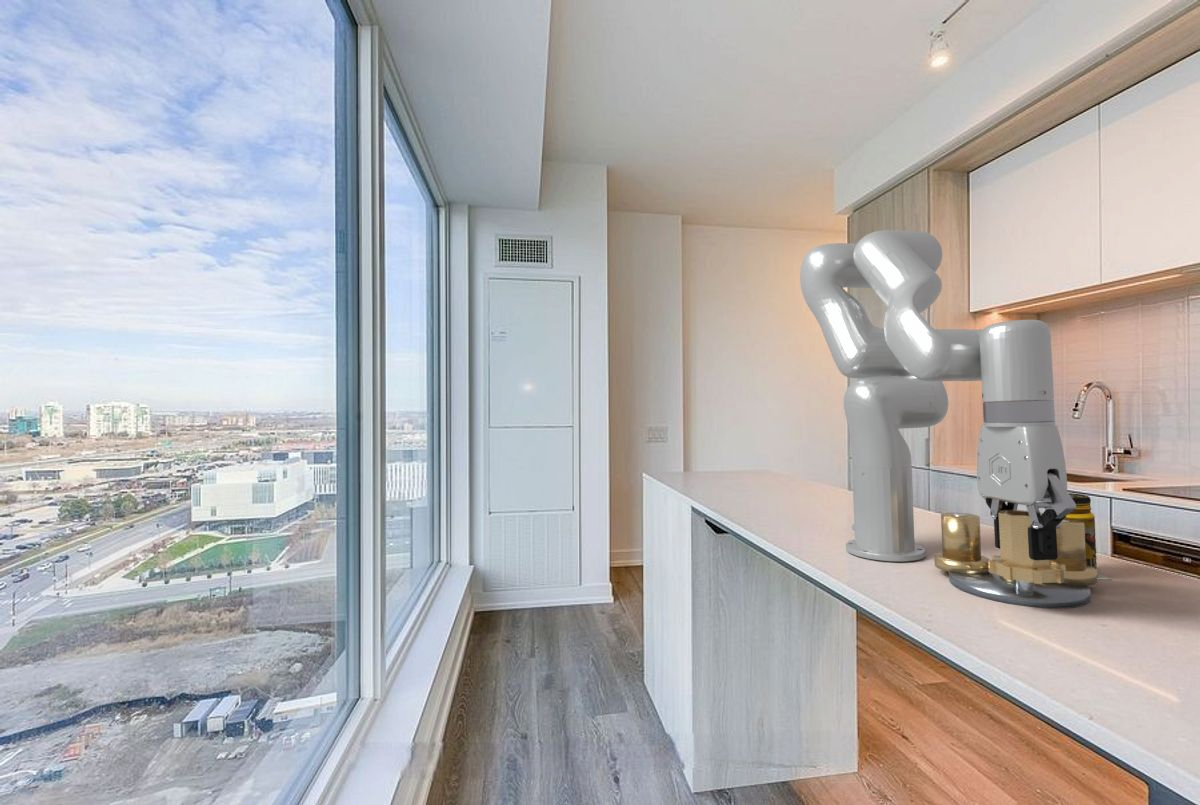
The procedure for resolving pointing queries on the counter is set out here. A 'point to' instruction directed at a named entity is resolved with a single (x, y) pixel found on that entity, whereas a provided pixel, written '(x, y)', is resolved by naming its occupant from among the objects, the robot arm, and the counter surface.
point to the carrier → (976, 579)
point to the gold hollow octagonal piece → (1021, 553)
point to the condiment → (1086, 528)
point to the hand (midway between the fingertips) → (1025, 552)
